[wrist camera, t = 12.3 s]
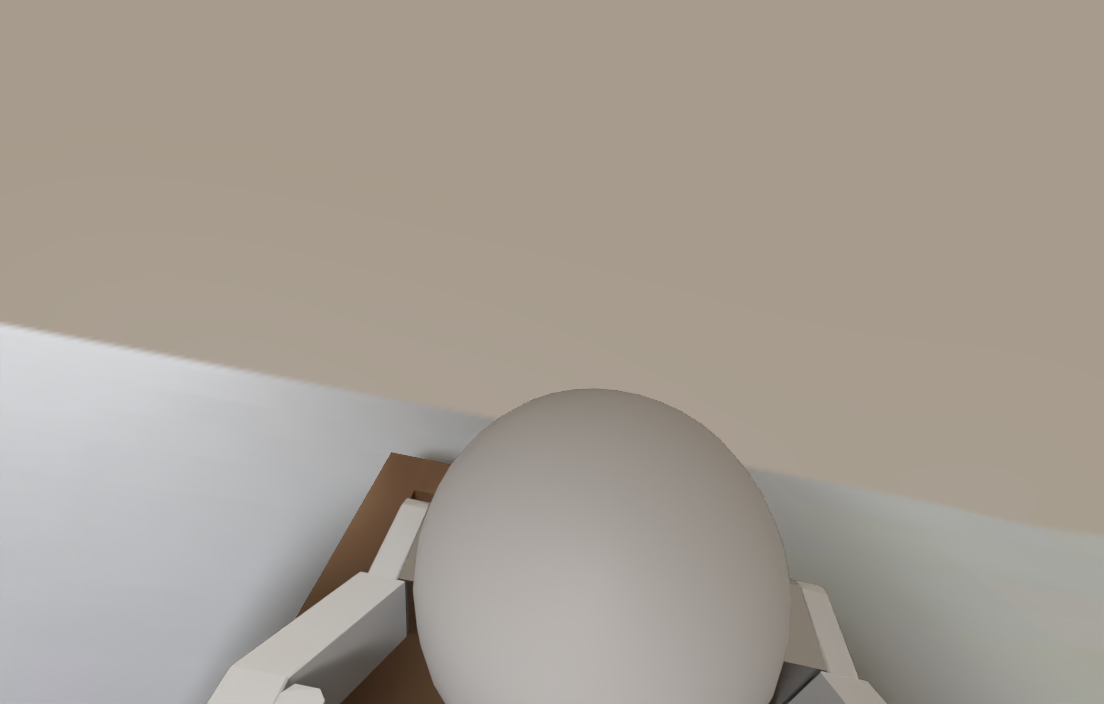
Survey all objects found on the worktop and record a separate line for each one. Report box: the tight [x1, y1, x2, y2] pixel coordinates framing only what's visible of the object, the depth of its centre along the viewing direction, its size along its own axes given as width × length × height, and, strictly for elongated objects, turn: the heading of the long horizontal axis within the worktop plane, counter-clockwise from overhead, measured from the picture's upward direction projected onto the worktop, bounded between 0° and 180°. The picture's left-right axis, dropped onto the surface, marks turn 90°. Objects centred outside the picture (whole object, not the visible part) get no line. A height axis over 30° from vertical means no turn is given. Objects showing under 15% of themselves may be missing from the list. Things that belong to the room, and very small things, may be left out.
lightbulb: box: [413, 389, 791, 704], centre depth 10 cm, size 6×6×11 cm
